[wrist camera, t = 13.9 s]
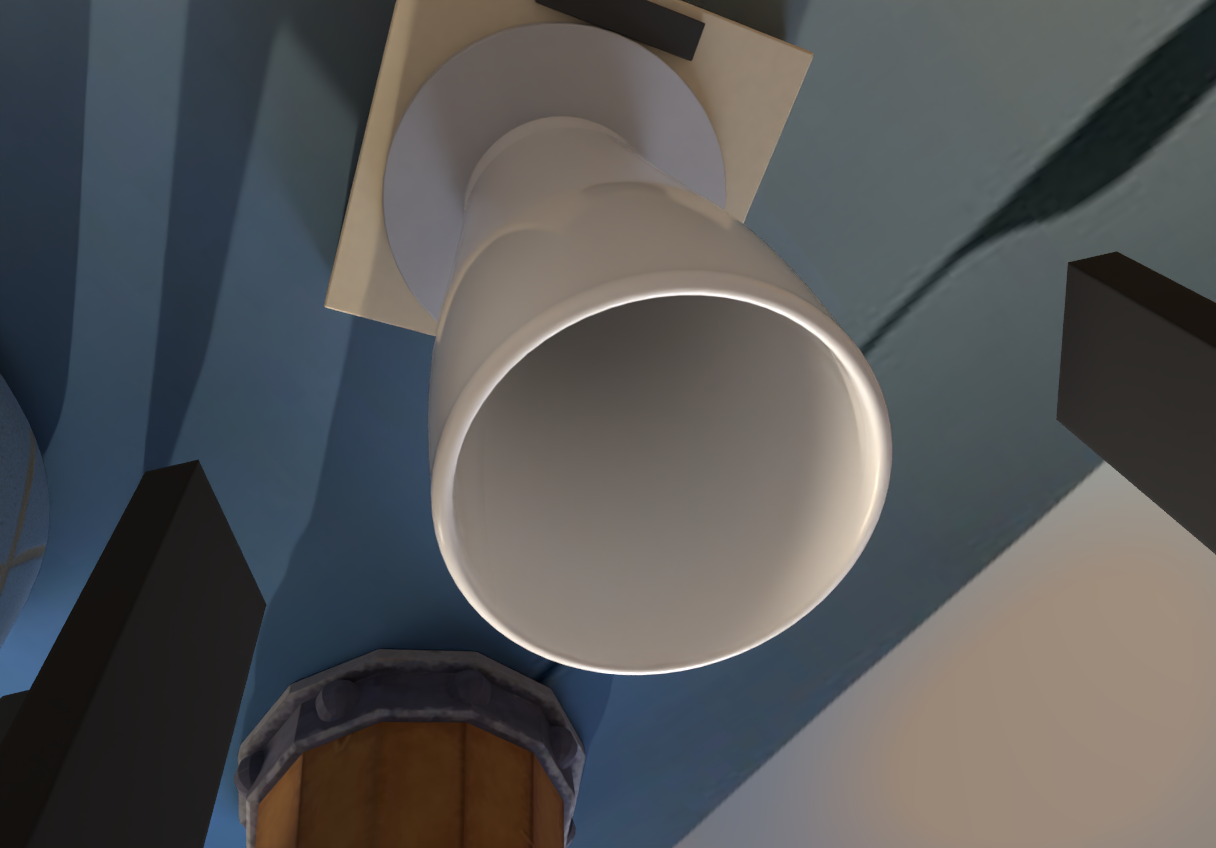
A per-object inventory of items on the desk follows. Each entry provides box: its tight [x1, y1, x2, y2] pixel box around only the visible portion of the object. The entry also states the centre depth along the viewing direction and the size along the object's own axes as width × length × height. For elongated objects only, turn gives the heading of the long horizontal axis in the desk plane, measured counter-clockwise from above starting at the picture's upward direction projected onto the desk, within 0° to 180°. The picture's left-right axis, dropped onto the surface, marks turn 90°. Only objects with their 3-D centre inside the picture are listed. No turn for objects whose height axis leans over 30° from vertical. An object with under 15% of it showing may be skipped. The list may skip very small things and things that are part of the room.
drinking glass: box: [427, 116, 892, 675], centre depth 20 cm, size 7×7×15 cm
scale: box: [324, 0, 814, 336], centre depth 27 cm, size 11×11×3 cm
